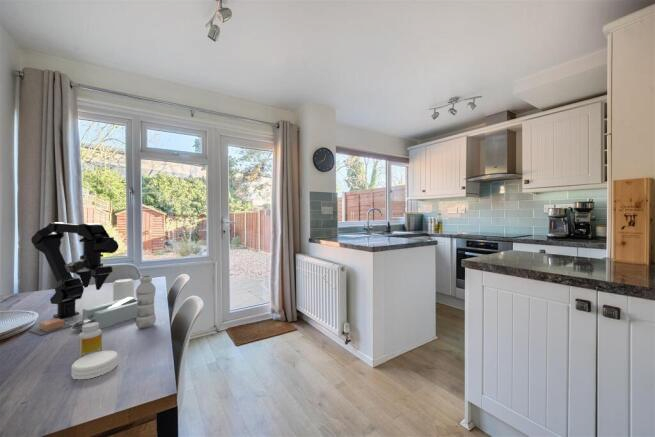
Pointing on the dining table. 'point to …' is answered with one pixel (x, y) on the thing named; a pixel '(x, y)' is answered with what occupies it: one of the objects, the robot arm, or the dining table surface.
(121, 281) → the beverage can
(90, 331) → the supplement bottle
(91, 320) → the lever
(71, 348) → the dining table surface
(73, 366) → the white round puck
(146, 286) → the plastic bottle
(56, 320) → the tile
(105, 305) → the grey-green channel block
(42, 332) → the pad
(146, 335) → the dining table surface
